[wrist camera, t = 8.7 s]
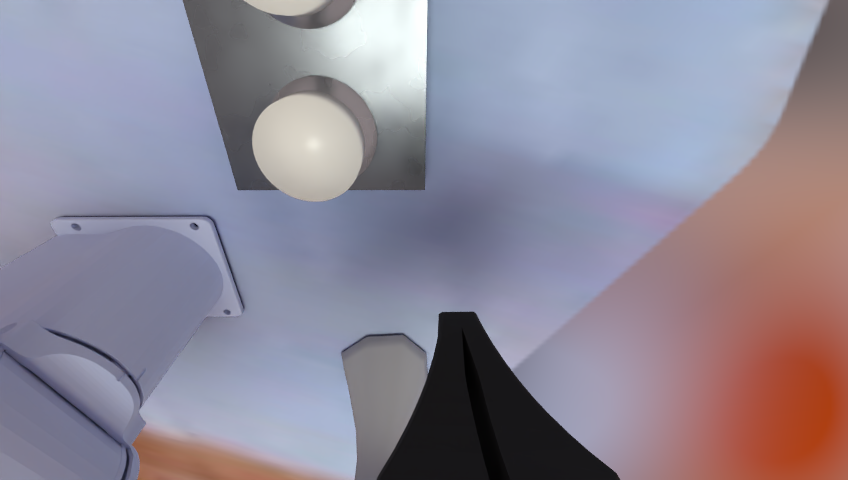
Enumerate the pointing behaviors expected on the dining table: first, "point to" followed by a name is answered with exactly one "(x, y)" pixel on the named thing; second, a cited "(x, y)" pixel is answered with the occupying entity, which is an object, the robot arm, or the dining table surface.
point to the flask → (382, 395)
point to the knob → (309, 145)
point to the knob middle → (290, 6)
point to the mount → (320, 77)
